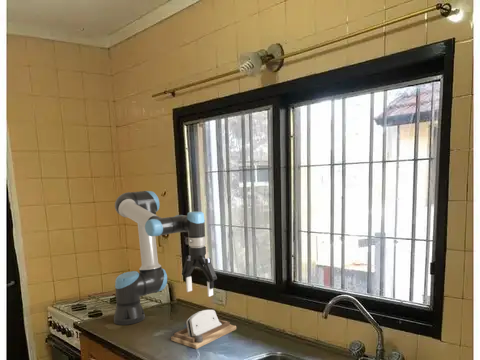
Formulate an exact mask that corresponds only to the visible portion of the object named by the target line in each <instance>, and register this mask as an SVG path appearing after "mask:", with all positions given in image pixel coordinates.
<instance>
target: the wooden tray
mask: <svg viewBox="0 0 480 360" xmlns="http://www.w3.org/2000/svg"><path fill="white" fill-rule="evenodd" d="M218 320H219V322H220V323H221V324H222V325H220V326H218V327H216V328H213V329H211V330H209V331H207V332H205V333H203V334H200V335H197V336H193V337H189V335H188V329H187V327H185V328H183V329H181V330H178V331H177V332H174V333H173V335H172V336H171V337H170V340H171V341H173V342H175V343H178V344H181V345H184V346H186V347H190V348H193V349H196V350H198V349H199V348H201V347H204V346H205V345H208V344H210V343H212V342H214V341H216V340H217V339H219V338H221V337H224V336H225V335H228V334H230V333H233V332H234V331H236V330H237V326H236V325H233V324H231V323H230V321H227V320H223V319H219V318H218Z"/></svg>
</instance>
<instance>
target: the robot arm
mask: <svg viewBox="0 0 480 360" xmlns="http://www.w3.org/2000/svg"><path fill="white" fill-rule="evenodd" d="M160 205H161V204H160V198H159V197H158V195H157V194H156V193H155V192H154V191H153V190H142V191H132V192H131V191H128V192H124V193H122V194H120V195H119V196H118V197H117V198H116V200H115V203H114V209H115V212H116V213H117V214H118V215H119V216H121V217H123V218H128V219H130V220H132V221H133V222H135V223H137V232H138V239H139V241H138V243H139V251H140V261H141V265H140V267H139V268H138V269H139V270H138V271H139V272H138V271H136V270H132V271H127V272H123V273H121V274H118V276H117V277H116V278H115V285H114V288H115V298H116V300H115V301H116V307H115V312H114V316H113V323H114V324H115V325H120V326H125V325H133V324H138V323H140V322H142V321H144V319H145V317H146V316H145V311H144V307H143V306H142V302H141V297H144V296H148V295H150V294H155V293H159V292H161V291H163V290H164V289H165V288H166V287H167V284H168V275H167V272H166V270H165V269H164V268H162V265H161V264H160V263H159V259H158V248H157V240H156V239H157V237H159V236H164V235H169V234H170V235H171V234H177V233H183V232H184V233H187V234H188V235H187V236H188V247H189V248H188V254H189V255H186V256H185V262H184V263H183V264H184V265H183V268H182V271H181V275H182V276H184V279H185V284H186V285H185V286H186V292H187V293H189V292H192V291H193V284H192V283H193V281H192V275H191V274H192V273H193V271H194V269H195V268H199V269H200V270H202V272H203V274H204V276H205V278H206V279H207V281H206V285H207V287H206V288H207V297H212V296H214V288H215V284H214V281H215V280H218V277H217V274H216V272H215V269H214V266H213V264H212V259H211V257H207V258H206V254H207V247H206V244H207V243H206V229H205V228H206V227H205V226H206V225H205V222H206V220H205V214H204V212H203V211H189V212H187V215H183V214H178V215H177V214H176V215H175V216H167V217H161V216H159V215H157V212H158V211H159V209H160Z"/></svg>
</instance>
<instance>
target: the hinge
mask: <svg viewBox="0 0 480 360" xmlns="http://www.w3.org/2000/svg"><path fill="white" fill-rule="evenodd" d="M218 319H219V318H218V316H217V312H216V311H215V309H203V310H200V311H197V312H195V313H194V314H192V315H191V316H190V317H189V318H188V319H186V321H185V322H186V328H187V329H188V335H189V337H193V336H197V335H200V334H203V333H205V332H207V331H209V330H211V329H213V328H216V327H218V326H220V325H222V324H221V323H220V322H219V320H220V319H219V320H218Z"/></svg>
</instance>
